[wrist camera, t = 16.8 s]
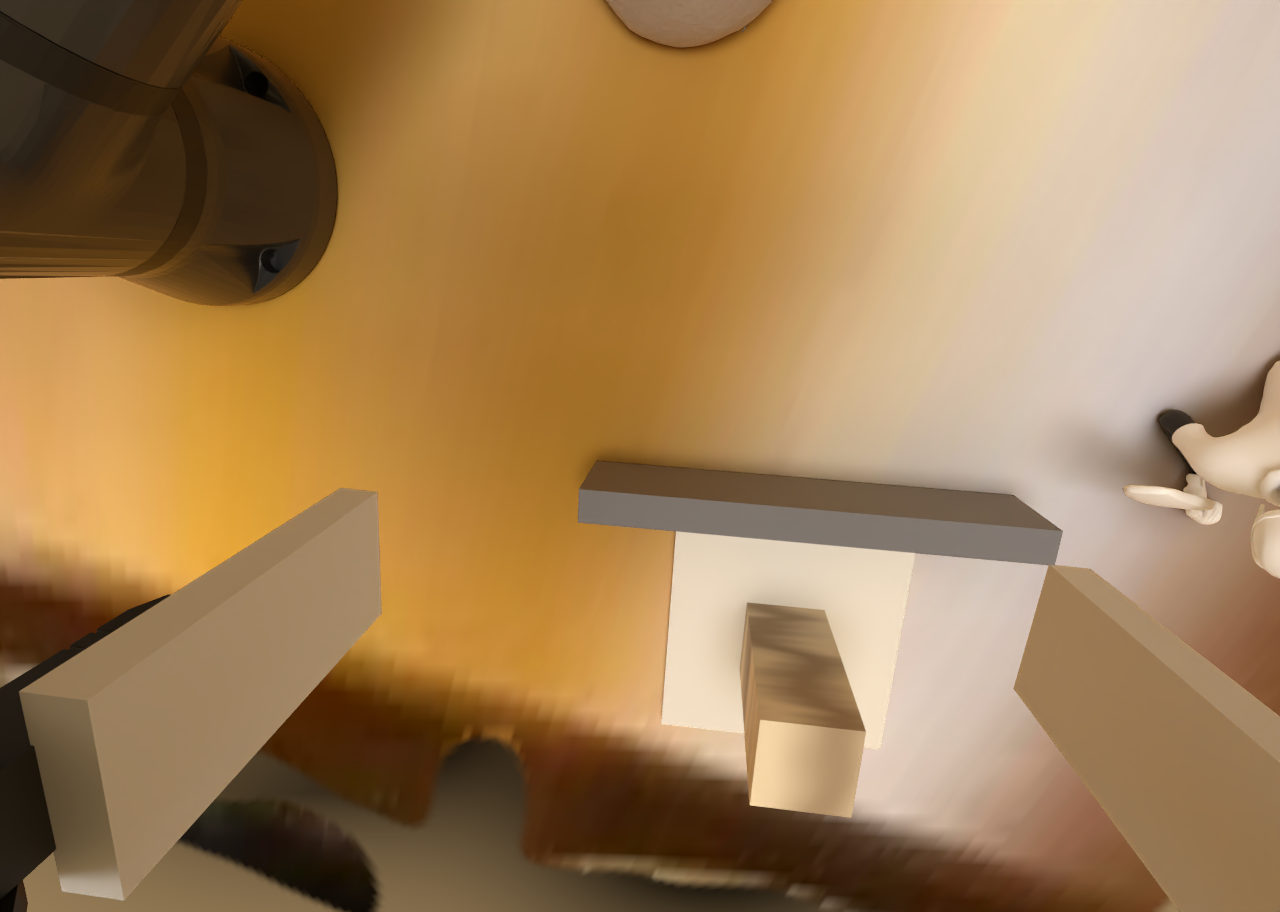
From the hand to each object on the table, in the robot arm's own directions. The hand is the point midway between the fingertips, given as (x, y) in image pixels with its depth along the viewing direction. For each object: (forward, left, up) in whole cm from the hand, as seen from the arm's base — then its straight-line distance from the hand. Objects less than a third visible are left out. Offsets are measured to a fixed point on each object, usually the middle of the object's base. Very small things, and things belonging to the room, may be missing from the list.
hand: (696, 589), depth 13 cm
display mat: (+6, -17, -29) cm, 34 cm away
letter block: (+6, -17, -28) cm, 33 cm away
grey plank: (+6, -7, -29) cm, 30 cm away
